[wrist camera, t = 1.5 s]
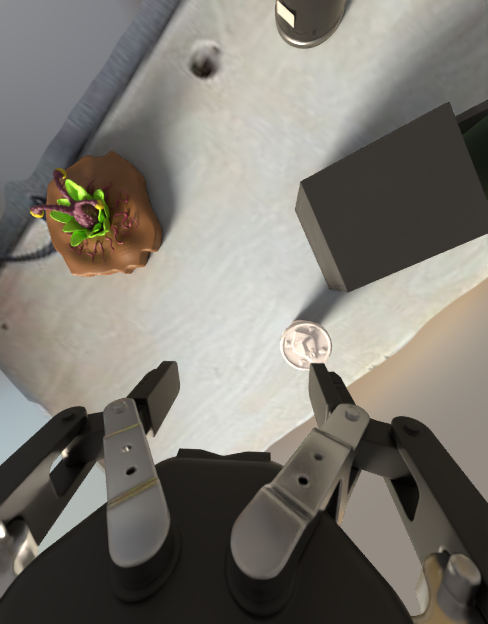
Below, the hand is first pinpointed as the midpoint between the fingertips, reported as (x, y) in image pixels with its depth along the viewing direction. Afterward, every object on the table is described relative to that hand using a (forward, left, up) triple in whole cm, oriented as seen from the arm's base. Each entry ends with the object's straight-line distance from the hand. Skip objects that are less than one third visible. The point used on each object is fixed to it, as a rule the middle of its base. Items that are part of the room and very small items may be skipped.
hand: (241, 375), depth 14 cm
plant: (-8, -32, -26) cm, 42 cm away
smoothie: (+1, +6, -26) cm, 27 cm away
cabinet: (-17, +10, -26) cm, 32 cm away
